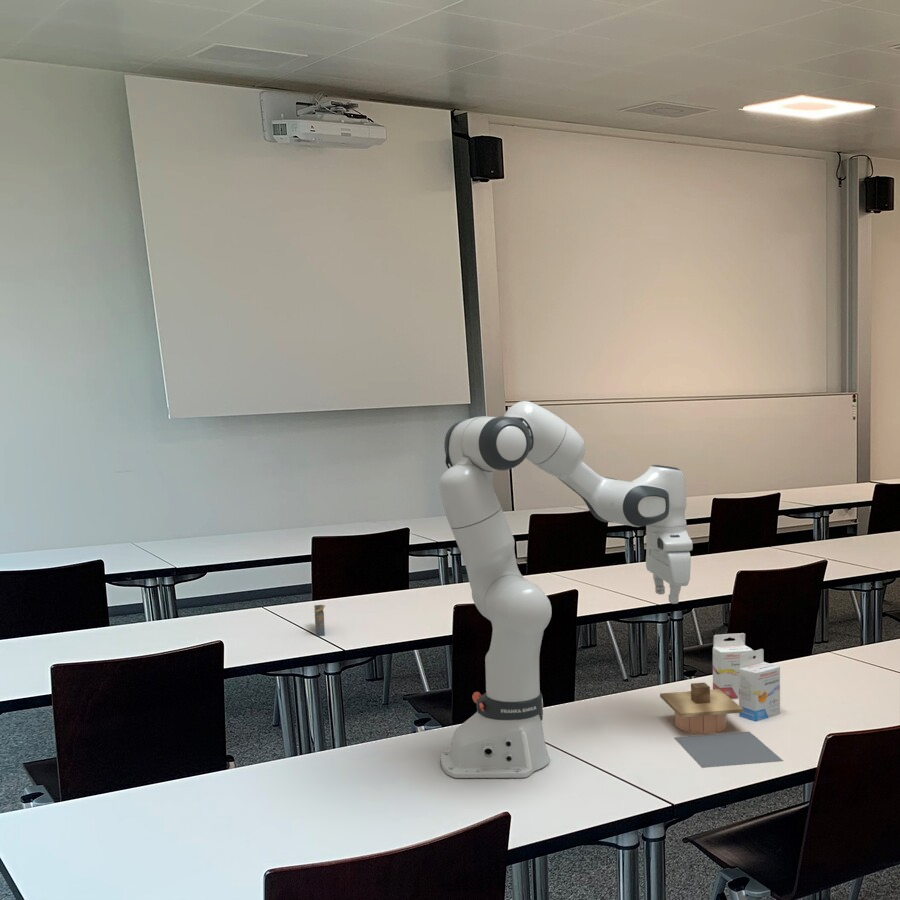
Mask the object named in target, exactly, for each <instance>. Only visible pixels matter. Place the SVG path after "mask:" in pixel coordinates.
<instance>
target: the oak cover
mask: <svg viewBox="0 0 900 900" xmlns="http://www.w3.org/2000/svg"><path fill="white" fill-rule="evenodd" d="M659 698H660V699H661V700H662V701H664V702H665V703H666V704H667V706H668V707H670V708H671V709H672V710H673V711H674V713H675V712H676V713H677V714H678V715H679V716H680V717H692V716H705V715H718V714H727V715H728V714H739V713H743V708H742V707H740V706H739V703H737V702H736V701H734V699H733V698H729V697H728V696H727V695H726V694H724V693H723V692H722V691H721V690H720V689H714V690H713V689H711V687H710V686H709V685H708V684H707V683H706V682H695V683H694V682H693V683H690V691H677V692H664V693H659Z"/></svg>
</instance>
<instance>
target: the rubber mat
mask: <svg viewBox="0 0 900 900" xmlns="http://www.w3.org/2000/svg"><path fill="white" fill-rule="evenodd" d="M673 739H674V740H675V741H676V743H678V745H680V746H681V747H682V748H683V750H684V751H686V753H687V754H688V755H689V756H690V757H691V758H692V759H693V761H695V762H696V763H697V765H699V766H700V768H702V769H704V768H716V767H728V766H729V767H730V766H739V765H740V766H742V765H753V764H764V763H765V764H766V763H767V764H768V763H777V762H784V760H783V759H782V758H781V757H780V756H779V755H777V754H776V753H775V752H774V751H773V750H772V749H771V748H769V747H768V746H767V745H766V744H765V743H763V741H761V740H760V739H758V737H756V736H755V735H754V733H752V732H751V731H738V732H727V733H726V732H725V733H711V734H702V735H701V734H700V735H689V736H676V737H675V736H674V737H673Z"/></svg>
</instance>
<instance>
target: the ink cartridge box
mask: <svg viewBox="0 0 900 900" xmlns="http://www.w3.org/2000/svg"><path fill="white" fill-rule="evenodd" d="M729 638H730V639H734V640H726V639H729ZM712 645H713V647H712V690H714V689H720V690H721V691H722V692H723V693H724V694H726V695H727V696H728V697H729V698H731V699H739V662H740V655H741V654H745V653H748V652H752V651H754V649H752V648H751V647H749V646H747V645H746V633H744V632H741V633H739V632H738V633H724V634H715V635H713V644H712ZM751 659H754V656H752V655H751V656H750V657H748V658H747V660H751Z"/></svg>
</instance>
